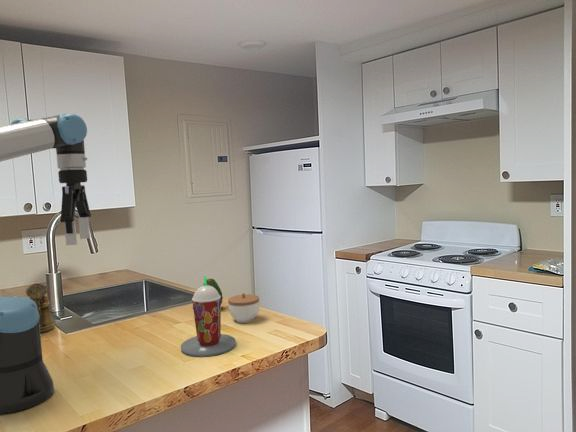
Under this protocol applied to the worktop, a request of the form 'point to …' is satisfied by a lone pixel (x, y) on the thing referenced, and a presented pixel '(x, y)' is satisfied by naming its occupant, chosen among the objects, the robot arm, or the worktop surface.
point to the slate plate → (208, 347)
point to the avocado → (214, 284)
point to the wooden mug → (41, 306)
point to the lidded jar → (244, 307)
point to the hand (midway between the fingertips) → (78, 241)
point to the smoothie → (207, 314)
